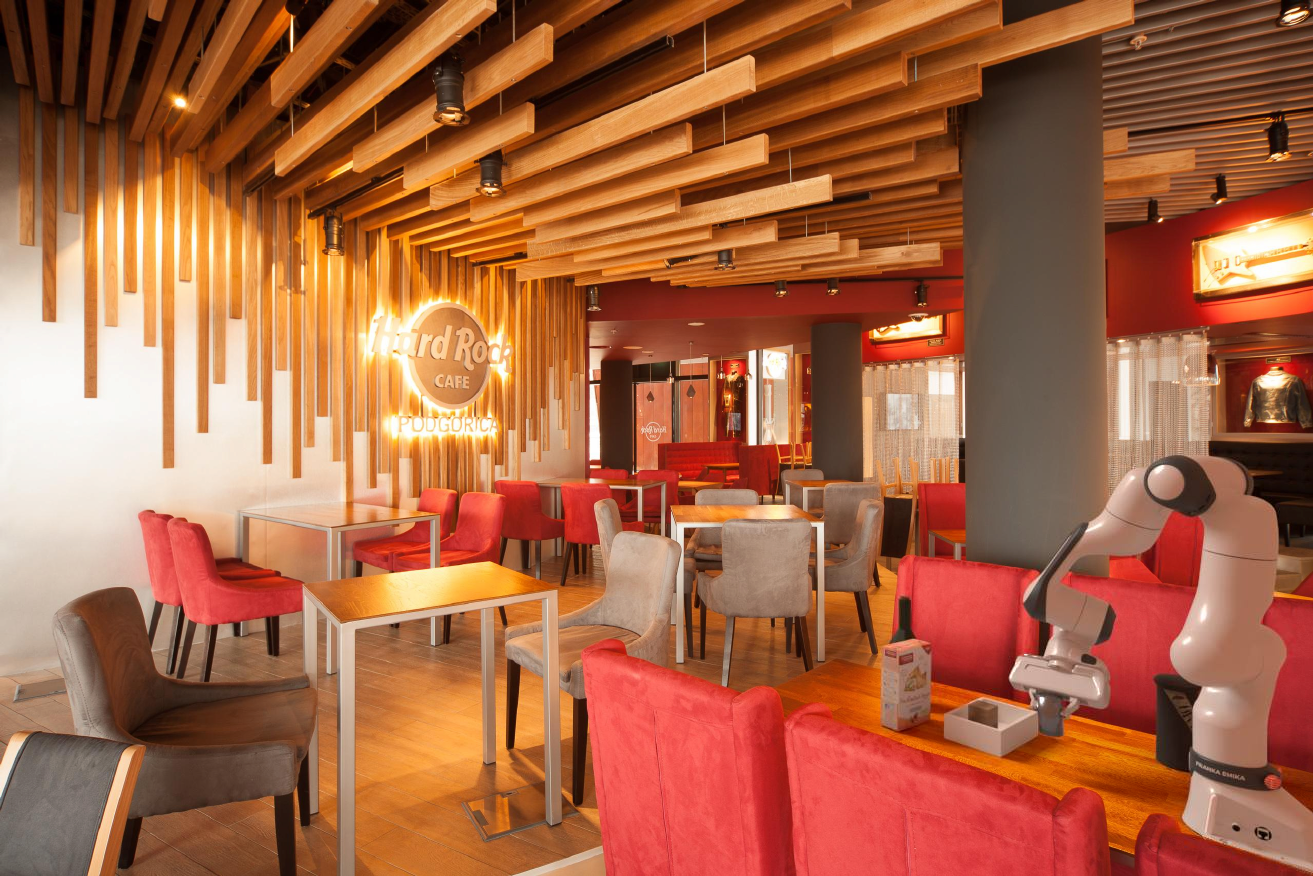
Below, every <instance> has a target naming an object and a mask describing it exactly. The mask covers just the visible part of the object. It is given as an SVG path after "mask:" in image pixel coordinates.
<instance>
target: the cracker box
mask: <svg viewBox="0 0 1313 876" xmlns="http://www.w3.org/2000/svg"><path fill="white" fill-rule="evenodd" d="M880 680H881V683H880V685H881V690H880V692H881V693H880V695H881V697H880V725H881V726H883V727H885V728H888V729H889V730H893V731H895V732H898V733H899V732H902V731H904V730H907V729H908V730H909V729H910V728H913V727H916V726H920V725H923V724H924V723H928V722H930V721H931V695H932V694H931V689H932V686H931V683H932V681H931V680H932V643H931V642H927V641H925V640H920V639H918V638H917V639H910V640H906V641H902V642H897V643H893V644H885V645H882V646H881V679H880Z"/></svg>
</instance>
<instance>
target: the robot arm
mask: <svg viewBox="0 0 1313 876" xmlns="http://www.w3.org/2000/svg"><path fill="white" fill-rule="evenodd" d="M1254 483H1255V482H1254V478H1253V476H1252V474H1251V471H1250V470H1249V469H1248V468H1247V467H1246V466H1245V465H1244V464H1243V463H1242V462H1239V461H1237V460H1235V459H1231V458H1229V457H1224V456H1211V455H1205V454H1172V455H1169V456H1164V457H1162V458H1159V459H1158V460H1155V461H1154V462H1153V463H1151V464H1150V465H1149V466H1148V467H1144V466H1143V467H1134V468H1132V469H1130V470H1129V471H1127V473H1125V475H1124V476H1123V477H1122V479H1121V480H1120V481H1119V483H1118V484H1117V486H1116V488H1115V489H1114V490H1113V492H1112V493H1111V496H1110V497H1109V499H1108V501H1107V503H1106V506H1105V507H1104V509H1103V511H1102V512H1101V513H1100V514H1099V515H1098V516H1097V517H1096V518H1094V519H1093V520H1091V521H1088V522H1081V523H1079V524H1077V526H1075V527H1074V528H1073V530H1072V531H1071V532H1070V533H1069V534H1068V535H1067V537H1066V539H1065V540H1063V542H1062V543H1061V544H1060V546H1059V548H1057V551H1056V552H1055V553H1054V555H1053V556H1052V557H1051V559H1050V560H1049V561H1048V563H1047V564H1046V565H1045V566H1044V568H1043V570H1042V571H1041V572H1040V573H1039V574H1038V575H1037V577H1036V578H1035V579H1034V580H1033V581H1032V582H1031V583H1029V585H1028V586H1027V588H1026V590H1025V592H1024V594H1023V598H1022V605H1023V607H1024V610H1025V611H1026V613H1027V614H1028V616H1029V617H1030V618H1031V619H1034V620H1036V621H1039V622H1043V623H1048V624H1049V625H1051V626H1053V627H1052V636H1051V638H1049V640H1048V641H1047V645H1046V649H1045V652H1044V653H1043V654H1044V655H1043V656H1042V655H1036V654H1035V655H1034V654H1031V653H1024V654H1020V655H1018V656H1017V657H1016V660H1015V664H1014V666H1013V667H1012V669H1011V671H1010V673H1009V676H1008V680H1009V682H1010V684H1011V686H1012V687H1013V689H1014V690H1017V691H1021V692H1027V693H1028V694H1029V697H1030V699H1031V701H1030V704H1029V708H1030V709H1031V710H1032V711H1036V712H1038V710H1037V694H1039V693H1051V694H1056V695H1059V696H1061V697H1062V698H1063V702H1065V701H1066V702H1069V704H1068V705H1067V706H1066V707H1064V706H1063V707H1062V708H1061V711H1060V715H1061V717H1062V718H1063V719H1067V720H1070V719H1071V716H1072V714H1073V713H1074V712H1076V711H1077V710H1078V709H1079V708H1080V707H1081V706H1087V707H1091V708H1095V709H1099V710H1104V709H1106V708H1107V707H1108V706H1109V704H1110V699H1111V698H1110V697H1111V686H1110V683H1109V682H1110V680H1111V676H1110V672H1109V670H1108V667H1107V665H1106V664H1105V662H1104V661H1103V660H1102V659H1101V658H1099V657H1096V656H1094V655H1092V654H1091V649H1092V648H1093V646H1098V645H1101V644H1104V643H1106V642H1108V641H1109V640H1110V638H1111V636H1112V633H1113V629H1114V625H1115V621H1116V619H1117V614H1116V612H1115V610H1114V608H1113V606H1112V605H1111V604H1110V602H1107V601H1106V600H1104V599H1101V598H1100V597H1099V598H1098V597H1096V596H1094V595H1092V594H1088V593H1085V592H1083V591H1080V590H1078V589H1075V588H1073V587H1070V586H1068V585H1065V584H1063V583H1062V582H1061V581H1062V579H1063V578H1064V577H1065V576H1066V575H1067V573H1068V572H1069V570H1070V569H1071V568H1072V567H1073V565H1074V564H1075V563H1076V561H1077V560H1079V559H1080V558H1082V557H1086V556H1093V555H1094V556H1096V555H1105V556H1114V557H1115V556H1117V557H1128V556H1135V555H1138V554H1142V553H1145V552H1146V551H1148V550H1150V549H1151V548H1152V547H1153V545H1155V543H1156V541H1157V540H1158V538H1159V537H1160V536H1161V533H1162V532H1163V529H1164V527H1165V525H1166V523H1167V521H1168V519H1169V517H1170V515H1171V514H1172V512H1173V511H1175V512H1177V513H1179V514H1181V515H1183V516H1185V517H1186V518H1195V517H1199V519H1200V520H1201V522H1202V524H1203V531H1204V532H1203V533H1204V534H1203V541H1202V542H1203V543H1202V550H1201V559H1200V560H1201V561H1200V568H1199V577H1198V584H1197V588H1196V593H1195V596H1194V598H1193V601H1192V604H1191V606H1190V609H1189V612H1188V615H1187V617H1186V619H1185V622H1184V625H1183V627H1182V629H1181V632H1180V633H1179V634H1178V636H1176V638H1175V639H1174V640H1173V642H1172V643H1171V644H1170V645H1171V646H1170V649H1169V657H1170V662H1171V664H1172V666H1173V668H1174V669H1175V672H1177V674H1178V675H1180V676H1182V677H1183V678H1184V679H1185V680H1187V681H1189V682H1190V683H1192V684H1195V685H1198V686H1201V687H1202V688H1201V690H1200V692H1199V694H1198V699H1197V700H1196V702H1195V703H1194V706H1193V745H1192V747H1190V752H1189V770H1190V771H1189V776H1190V785H1189V791H1188V792H1189V793H1188V798H1187V802H1186V805H1185V808H1184V811H1183V813H1182V816H1181V817H1182V821H1183V823H1185V825H1186V826H1187V827H1188V828H1190V829H1191V830H1192V831H1194V832H1196V833H1198V834H1199V835H1201V836H1202V837H1203V838H1204V837H1206V838H1209V839H1212V840H1214V841H1217V842H1220V843H1224V844H1227V845H1230V846H1233V847H1236V848H1240V849H1242V850H1246V851H1249V852H1252V853H1255V854H1259V855H1261V856H1262V857H1266V858H1269V859H1273V860H1276V861H1279V862H1281V863H1284V864H1287V865H1291V866H1293V867H1296V868H1299V869H1302V870H1305V871H1308V872H1311V873H1313V811H1311V810H1310V809H1309V808H1307V807H1306V806H1305V805H1303V804H1302V803H1301V802H1300V801H1299V800H1297V799H1296V798H1295V797H1294V796H1293V795H1292V794H1290V793H1289V792H1288V791H1287V790H1286V789H1284V788H1283V787H1282V782H1283V777H1282V775H1283V774H1282V771H1283V770H1282V768H1281V766H1280V767H1278V768H1275V766H1273V765H1272V764H1271V763H1270V762H1269V761H1268V723H1269V716H1270V715H1269V714H1270V710H1271V706H1272V702H1273V698H1274V694H1275V690H1276V685H1277V680H1278V678H1279V677H1278V676H1279V673H1280V670H1281V668H1282V667H1283V665H1284V663H1285V661H1286V660H1287V659H1286V658H1287V656H1288V655H1287V654H1288V653H1287V652H1288V651H1287V647H1286V644H1285V641H1284V640H1283V638H1282V636H1280V635H1279V634H1278V633H1277V632H1276V631H1275V630H1274V629H1272V628H1270V627H1269V626H1266V625H1264V624H1262V620H1263V619H1264V616H1265V614H1266V613H1267V611H1268V609H1269V608H1270V607H1271V605H1272V604H1273V601H1274V597H1275V596H1274V595H1275V587H1276V578H1277V569H1278V560H1279V559H1278V558H1279V544H1280V542H1279V541H1280V540H1279V538H1280V537H1279V526H1278V517H1277V512H1276V510H1275V508H1274V506H1272V504H1271V503H1270V502H1268V501H1266V500H1265V499H1262V498H1260V497H1257V496H1253V495H1252V493H1253V491H1254V485H1255V484H1254Z"/></svg>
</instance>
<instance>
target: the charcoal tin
mask: <svg viewBox="0 0 1313 876" xmlns="http://www.w3.org/2000/svg"><path fill="white" fill-rule="evenodd" d="M1036 701H1037V710H1038V711H1037V712H1038V733H1039V734H1041V735H1043V736H1047V737H1052V738H1061V737H1063V736H1064V735H1065V734H1064V733H1065V729H1064V718H1062V717H1061V715H1060V711H1061V708H1062V707H1064V700H1063V698H1062V697H1061V696H1059V695H1056V694H1051V693H1039V694H1037V698H1036Z"/></svg>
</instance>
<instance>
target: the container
mask: <svg viewBox="0 0 1313 876" xmlns="http://www.w3.org/2000/svg"><path fill="white" fill-rule="evenodd" d="M1152 679H1153V682H1154V683H1155V685H1156V717H1155V718H1156V721H1155V722H1156V725H1155V727H1156V728H1155V729H1156V733H1155V758H1156V761H1157V762H1159V764H1161V765H1164V766H1165V767H1168V768H1171V769H1174V770H1179V771H1185V772H1190V770H1189V752H1190V747H1192V745H1193V706H1194V703H1195V702H1196V700H1197V699H1198V697H1199V693H1200V692H1201V690H1202V687H1203V686H1198V685H1195V684H1192V683H1190V682H1189V681H1187V680H1185V679H1184V678H1183V677H1182V676H1180V675H1179V674H1176V673H1157V674H1155V675H1153V678H1152Z"/></svg>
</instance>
